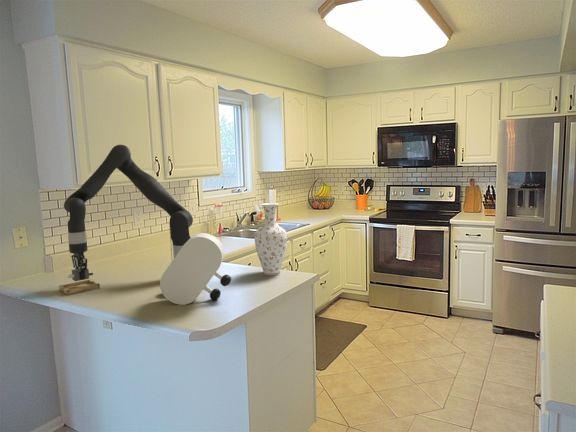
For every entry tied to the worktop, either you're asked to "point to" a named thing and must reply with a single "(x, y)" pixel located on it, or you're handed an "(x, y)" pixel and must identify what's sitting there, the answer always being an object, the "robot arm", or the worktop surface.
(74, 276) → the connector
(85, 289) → the tray
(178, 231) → the robot arm
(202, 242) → the robot
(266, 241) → the vase
